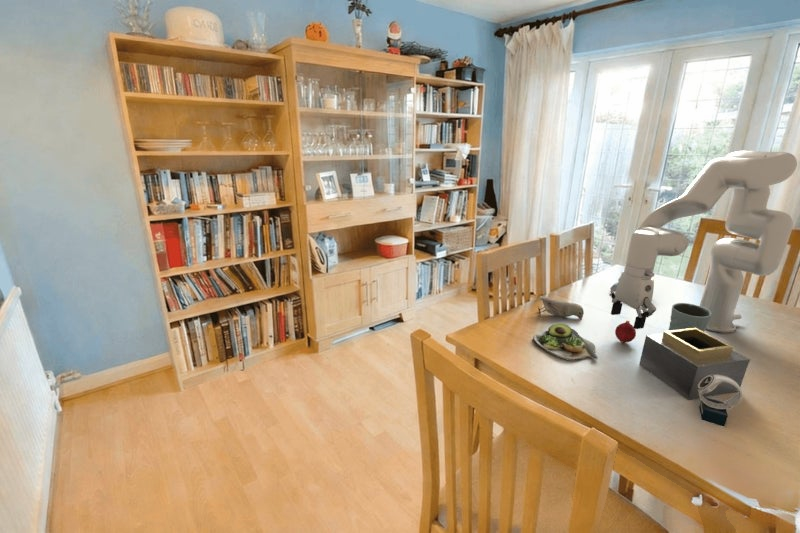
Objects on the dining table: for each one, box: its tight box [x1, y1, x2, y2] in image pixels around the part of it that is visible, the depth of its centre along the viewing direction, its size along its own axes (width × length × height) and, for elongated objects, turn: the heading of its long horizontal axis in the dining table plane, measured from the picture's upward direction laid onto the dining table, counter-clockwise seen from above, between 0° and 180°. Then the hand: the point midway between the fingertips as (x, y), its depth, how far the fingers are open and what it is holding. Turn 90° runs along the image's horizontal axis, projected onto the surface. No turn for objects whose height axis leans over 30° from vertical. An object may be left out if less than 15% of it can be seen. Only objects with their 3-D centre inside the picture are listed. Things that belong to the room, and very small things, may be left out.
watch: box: [697, 374, 743, 428], centre depth 89 cm, size 6×8×11 cm
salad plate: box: [533, 323, 599, 361], centre depth 120 cm, size 19×18×5 cm
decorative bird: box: [537, 295, 585, 320], centre depth 140 cm, size 5×16×8 cm, turn 73°
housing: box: [638, 328, 751, 401], centre depth 103 cm, size 16×16×12 cm
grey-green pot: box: [667, 302, 712, 332], centre depth 121 cm, size 10×10×12 cm
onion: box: [614, 319, 637, 344], centre depth 122 cm, size 6×6×8 cm
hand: (626, 320), depth 120 cm, fingers open, 9 cm apart
